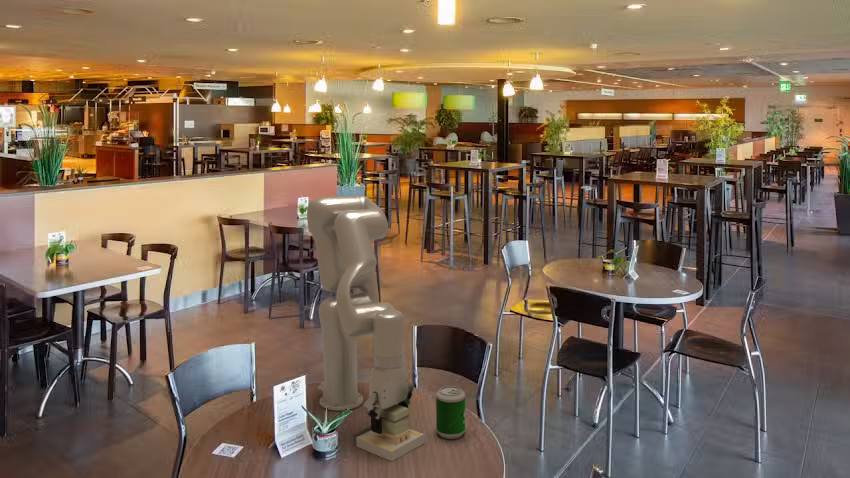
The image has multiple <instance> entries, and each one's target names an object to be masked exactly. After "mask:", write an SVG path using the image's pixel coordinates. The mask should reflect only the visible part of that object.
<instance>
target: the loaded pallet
mask: <svg viewBox="0 0 850 478" xmlns="http://www.w3.org/2000/svg"><path fill="white" fill-rule="evenodd" d="M378 409H379V408H376V411H375V412H376V413H377V411H378ZM409 417H410V416H409V407H408V408H406V407H403V406H400V405H398V403H397V404H395V405H393V406H391V407H389V408H386V409H384V410H383V412H382V414H381V416H380V418H382V433H381V434H378V433H375V432H373V435H374V436H377V437H379V438H382V439H384V440H387V441H389V442H392V443H394V444H399V443H400V441H401V442H403V441H405V438H406V439H408V438H410V430H409V429H410V428H409V423H410V422H409V421H410V420H409Z"/></svg>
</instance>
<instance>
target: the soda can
mask: <svg viewBox="0 0 850 478" xmlns="http://www.w3.org/2000/svg"><path fill="white" fill-rule="evenodd" d="M435 398H436V399H435V403H436V404H435V405H436V407H435V408H436V410H435V412H436V413H435V416H436V417H435V419H436V424H435V425H436V429H435V430H436V433H437V434H438V435H439V436H440V437H441V438H442V439H446V440H456V439H459V438H461V437H462V436H463V435H464V434H465V432H466V393H465V391H463V389H462V388H461V387H458V386H455V385H446V386H443V387H440V389H439V390H438V391H437V392H436V395H435Z"/></svg>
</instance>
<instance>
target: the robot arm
mask: <svg viewBox="0 0 850 478" xmlns="http://www.w3.org/2000/svg"><path fill="white" fill-rule="evenodd" d="M306 219H307V220H306V221H307V224H308V228H309V231H310V234H311V236H312V238H313V241H314V244H315V248H316V249H315V250H316V257H317V266H318V274H319V280H320V284H321V285H320V286H321V287H322V289H323V290H324V291H327V292H336V296H331V297H328V298H326V299H323V301H322V302H320V304H319V307H318V318H319V322H320V327H321V335H322V336H321V337H322V350H323V352H322V353H323V354H322V355H323V381H321V383H320V384H319V385H318V386H317V390H319V391H321V392H322V395H321V396H320V398H319V405H320V406H321V407H322V408H323V409H325V407H326V406H327V408H328V409H327V410H329V411H333V412H334V411H338V412H339V411H346V410H345V409H347V408H351V409H350V410H353V409H356V408H358V407H360V406H361V405H362V404H363V405H362V406H363V408H364V410H365V413H366V414H367V415H368V417H370V426H371V431H373V432H375V433H378V434H381V433H382V418H380V416H381V414H382V412H383V410H384V409H386V408H389V407H391V406H393V405H395V404H397V405H400V406H403V407H406V408H408V409H409V406H410V404H411V399H412V396H413V391H414V387H415V384H414V383H410V382H408V381H409V380H408V378H409V377H408V370H407V365H406V362H405V355H406V351H405V316H404V314H403V313H402V311H400V310H398V309H396V308H395V307H394V306H393V304H391V303H390V302H387V301H384V302H380V301H379V300H380V299H379V292H378V284H377V276H376V275H377V274H376V270H375V268H376V266H377V264H378V261H377V257H376V254H375V250H374V246H373V244H372V240H373V241H374V240H382V239H384V238H386V236H387V235H388V232H389V222H388V219H387V216H386V215H385V213H384V211H383V210H382V208H381V207H380V206H379V205H377V204H376V203H375V202H374V201H372V200H371V199H370V198H369V197H367V196H366V195H364V194H350V195H349V194H348V195H347V194H346V195H328V196H320V197H317V198H314V199H313V200H311V201H310V202H309V203H308V205H307V210H306ZM351 290H357V293H353V294H351ZM372 334H373V367H372V368H371V370H370V377H369V384H368V386H369V387H368V399H367V400H365V402H364V396H363V395H362V394H361V393H360V392H358V391H359V390H358V388H359V387H358V356H357V355H358V353H357V352H358V350H357V348H358V347H357V341H356V339H355V338H354V337H361V336H366V335H372ZM363 402H364V403H363ZM376 408H379V409H378V411H377V413H376V412H375V411H376Z"/></svg>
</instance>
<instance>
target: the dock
mask: <svg viewBox="0 0 850 478" xmlns="http://www.w3.org/2000/svg"><path fill="white" fill-rule="evenodd" d="M409 430H410V438H408V439H406V438H405V441H403V442H401V441H400V443H399V444H394V443H392V442H389V441H387V440H384V439H382V438H379V437H377V436H374V435H373V431H371V425H369V426H367V427H365V428H362V429H361V430H358V431H357V432H354V433H353V443H354V444H353V445H354V447H357V448H359V449H362V450H364V451H366V452H369V453H370V454H372V455H375V456H378V457H380V458H383V459H385V460H387V461H390V462H394V461H395V460H397V459H399V458H400V457H403V456H404V455H406V454H408V453H409V452H411V451H413V450H415V449H416V448H418V447H420V446H421V445H422V446H423V444H425V434H424V433H421V432H419V431H417V430H414V429H411V428H409Z"/></svg>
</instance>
